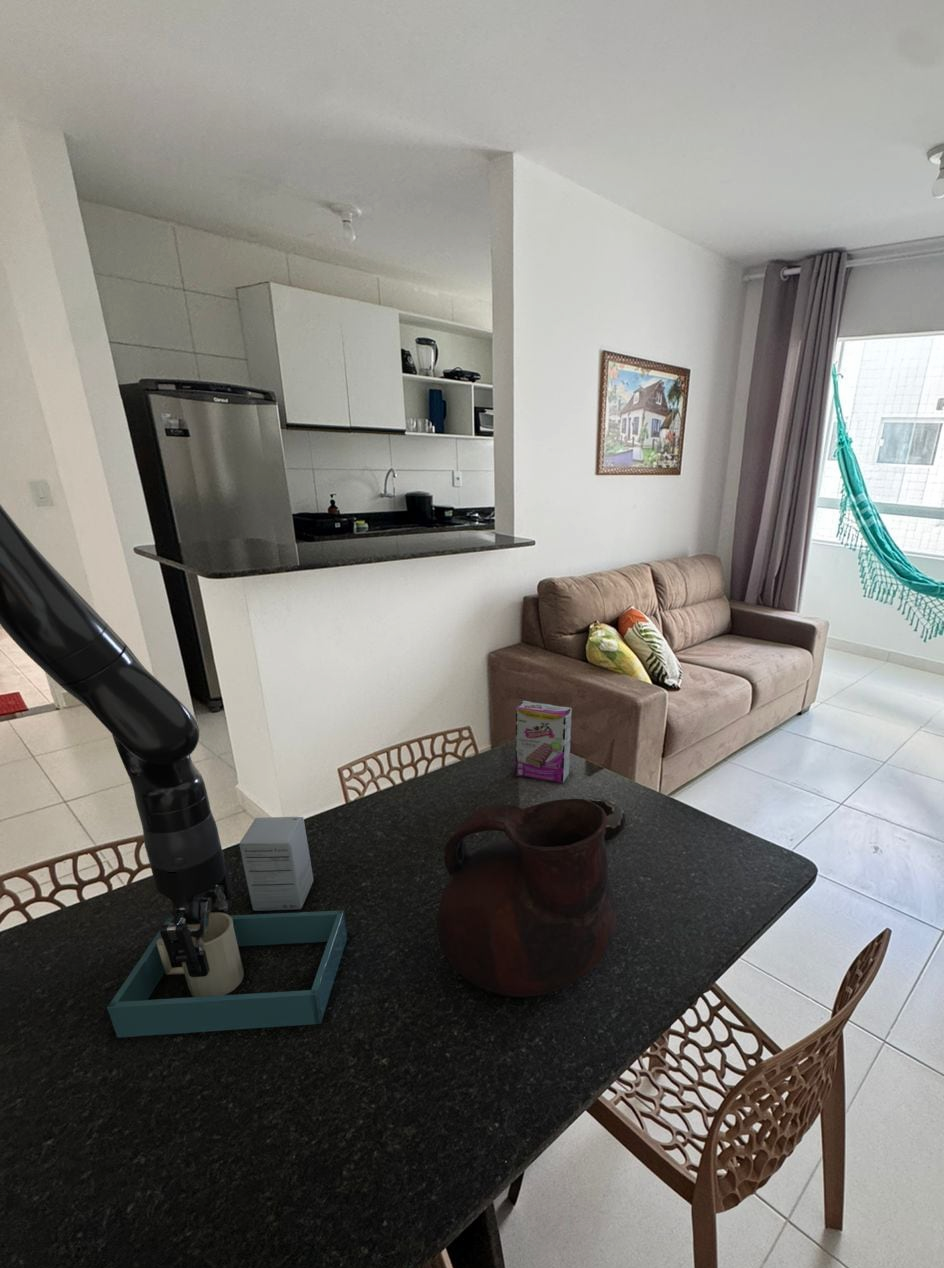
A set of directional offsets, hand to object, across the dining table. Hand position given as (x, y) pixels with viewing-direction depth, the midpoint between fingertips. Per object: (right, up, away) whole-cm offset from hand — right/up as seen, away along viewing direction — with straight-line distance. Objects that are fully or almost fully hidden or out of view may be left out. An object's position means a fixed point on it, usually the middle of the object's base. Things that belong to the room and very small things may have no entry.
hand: (210, 954), depth 87 cm
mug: (-2, -4, +2) cm, 5 cm away
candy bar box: (+39, +18, +59) cm, 73 cm away
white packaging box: (+1, +3, +18) cm, 19 cm away
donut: (+50, +10, +41) cm, 65 cm away
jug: (+41, -4, +9) cm, 42 cm away
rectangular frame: (+3, -4, +2) cm, 6 cm away
